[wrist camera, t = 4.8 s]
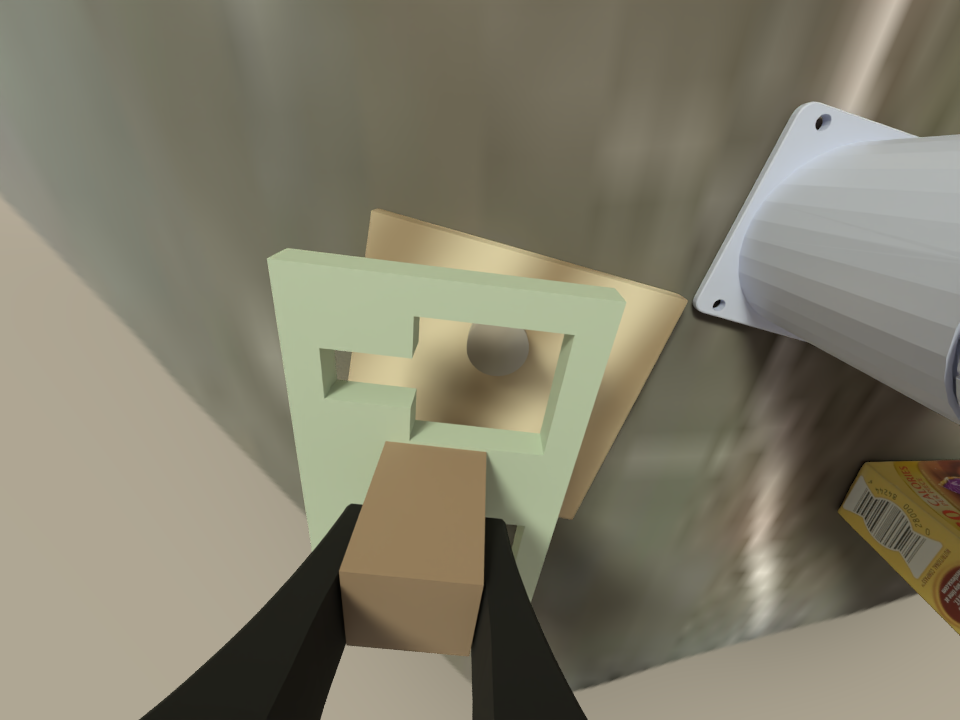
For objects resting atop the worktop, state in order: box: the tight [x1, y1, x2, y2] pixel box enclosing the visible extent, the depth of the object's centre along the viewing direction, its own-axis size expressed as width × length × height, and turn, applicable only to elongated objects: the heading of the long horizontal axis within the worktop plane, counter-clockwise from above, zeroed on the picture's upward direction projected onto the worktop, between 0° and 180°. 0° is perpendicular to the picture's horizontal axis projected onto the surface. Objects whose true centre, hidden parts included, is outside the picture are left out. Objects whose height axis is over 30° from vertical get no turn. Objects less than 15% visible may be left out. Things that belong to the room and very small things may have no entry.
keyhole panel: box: [267, 248, 626, 656], centre depth 11 cm, size 8×13×5 cm, turn 173°
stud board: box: [348, 209, 688, 520], centre depth 18 cm, size 13×13×3 cm
